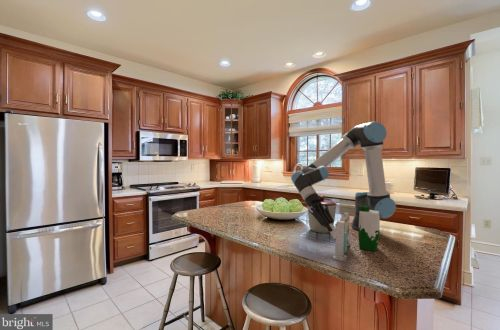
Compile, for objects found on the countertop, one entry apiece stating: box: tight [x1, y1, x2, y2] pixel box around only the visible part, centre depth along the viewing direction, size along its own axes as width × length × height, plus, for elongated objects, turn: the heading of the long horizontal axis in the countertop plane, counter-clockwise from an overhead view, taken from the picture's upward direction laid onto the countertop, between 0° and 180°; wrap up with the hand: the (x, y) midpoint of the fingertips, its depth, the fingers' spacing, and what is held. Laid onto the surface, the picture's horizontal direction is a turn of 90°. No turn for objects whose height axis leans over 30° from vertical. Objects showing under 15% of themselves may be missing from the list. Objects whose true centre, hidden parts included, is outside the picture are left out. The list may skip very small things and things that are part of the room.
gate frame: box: [332, 212, 351, 263], centre depth 117 cm, size 25×5×16 cm, turn 152°
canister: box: [306, 195, 338, 234], centre depth 151 cm, size 18×18×21 cm
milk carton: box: [358, 206, 381, 252], centre depth 122 cm, size 9×9×20 cm
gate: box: [334, 216, 348, 254], centre depth 118 cm, size 16×2×13 cm, turn 148°
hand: (336, 237), depth 119 cm, fingers closed
